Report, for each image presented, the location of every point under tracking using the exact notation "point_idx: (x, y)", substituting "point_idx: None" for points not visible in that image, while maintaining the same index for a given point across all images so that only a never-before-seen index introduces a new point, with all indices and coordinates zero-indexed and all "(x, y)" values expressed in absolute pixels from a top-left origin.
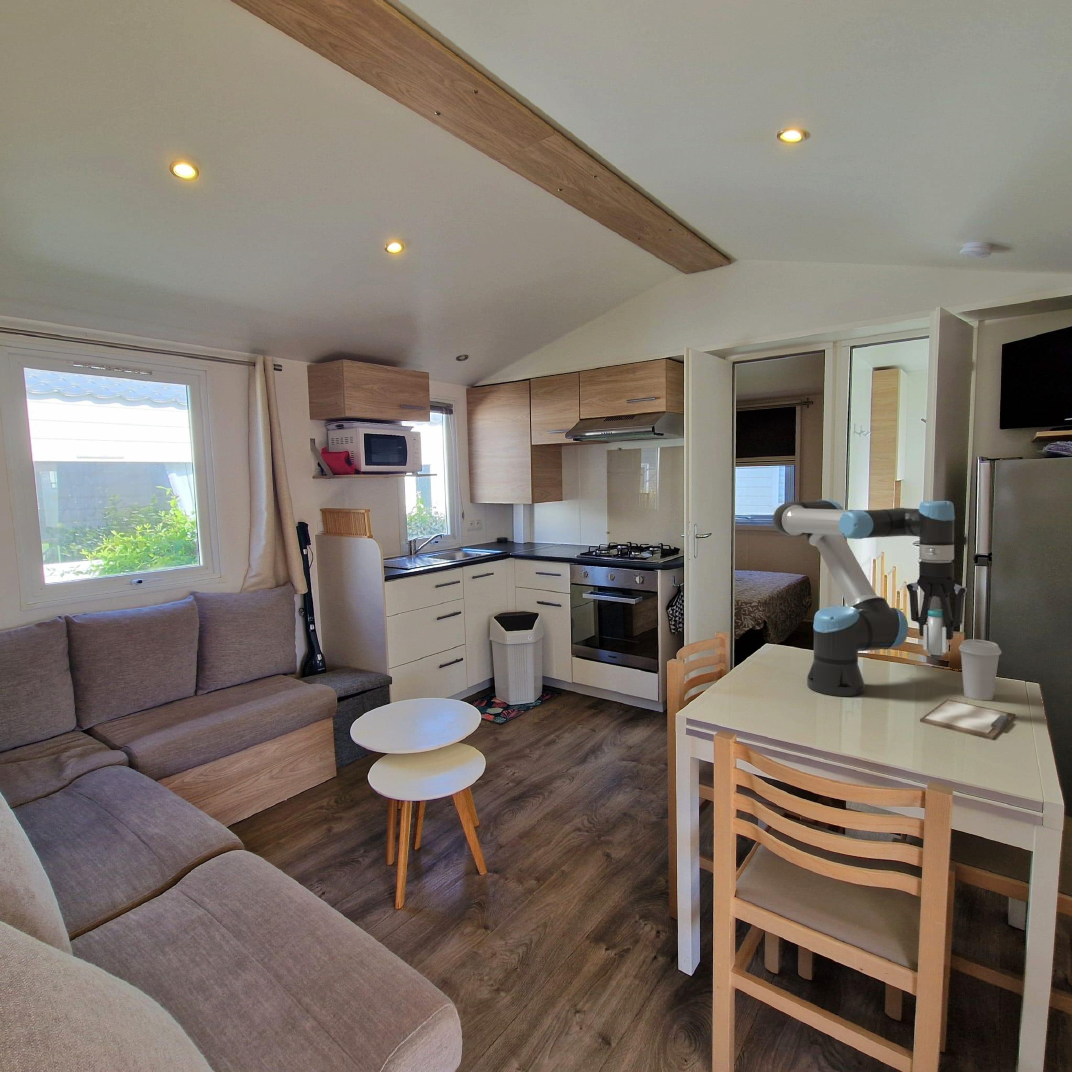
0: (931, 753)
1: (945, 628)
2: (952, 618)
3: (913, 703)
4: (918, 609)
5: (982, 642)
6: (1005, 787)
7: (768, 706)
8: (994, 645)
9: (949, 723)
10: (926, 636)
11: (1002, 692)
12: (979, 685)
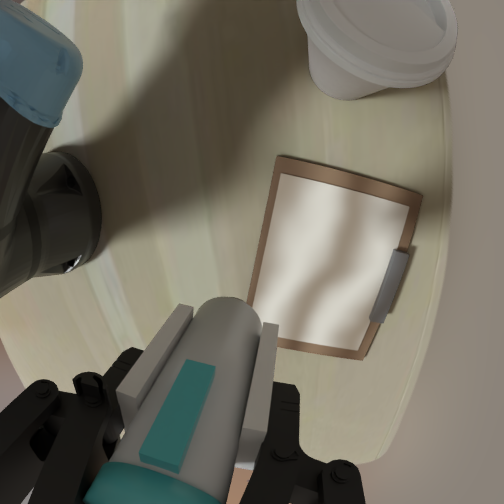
0: None
1: (252, 465)
2: (289, 498)
3: (205, 222)
4: (17, 440)
5: None
6: (346, 459)
7: (50, 358)
8: (448, 24)
9: (293, 339)
10: None
11: None
12: (357, 95)
